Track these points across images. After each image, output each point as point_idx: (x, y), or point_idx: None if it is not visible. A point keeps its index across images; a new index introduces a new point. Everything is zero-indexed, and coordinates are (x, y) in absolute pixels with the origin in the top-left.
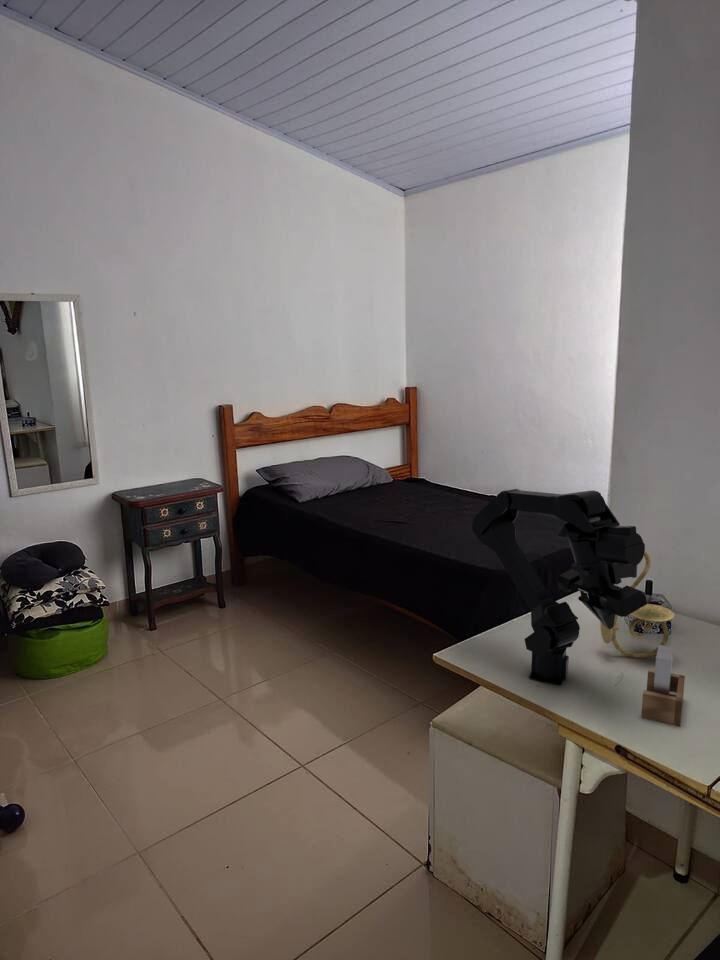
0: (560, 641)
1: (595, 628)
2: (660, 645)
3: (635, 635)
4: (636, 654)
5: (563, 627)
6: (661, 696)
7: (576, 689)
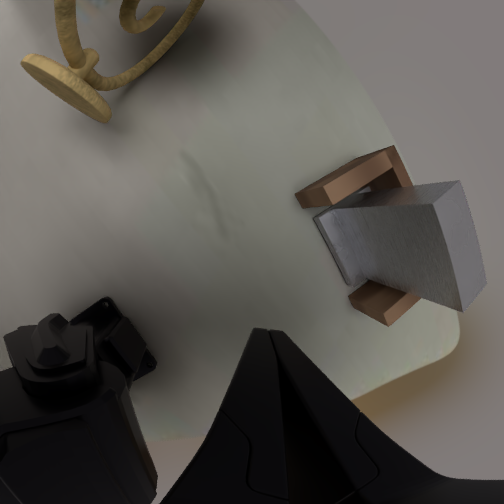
0: (156, 472)
1: (19, 47)
2: (438, 204)
3: (145, 27)
4: (156, 54)
5: (128, 485)
6: (416, 298)
7: (186, 340)
